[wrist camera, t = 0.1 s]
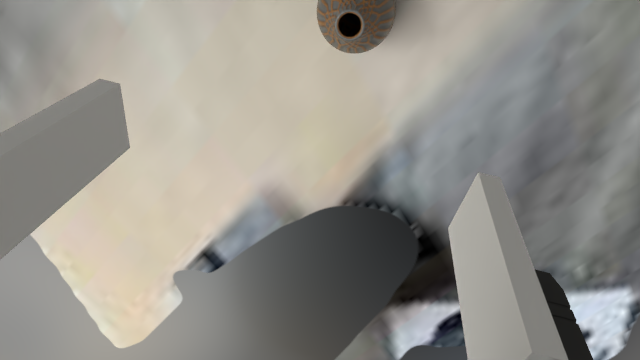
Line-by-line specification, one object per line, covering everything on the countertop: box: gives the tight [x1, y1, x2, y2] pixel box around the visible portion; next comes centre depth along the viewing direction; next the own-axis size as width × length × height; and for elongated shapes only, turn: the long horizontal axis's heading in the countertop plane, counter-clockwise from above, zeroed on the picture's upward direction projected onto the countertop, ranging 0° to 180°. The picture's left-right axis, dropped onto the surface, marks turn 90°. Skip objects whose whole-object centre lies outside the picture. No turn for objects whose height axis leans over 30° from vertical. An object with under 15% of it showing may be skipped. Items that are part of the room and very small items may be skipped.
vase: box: [317, 0, 396, 53], centre depth 33 cm, size 7×7×9 cm
